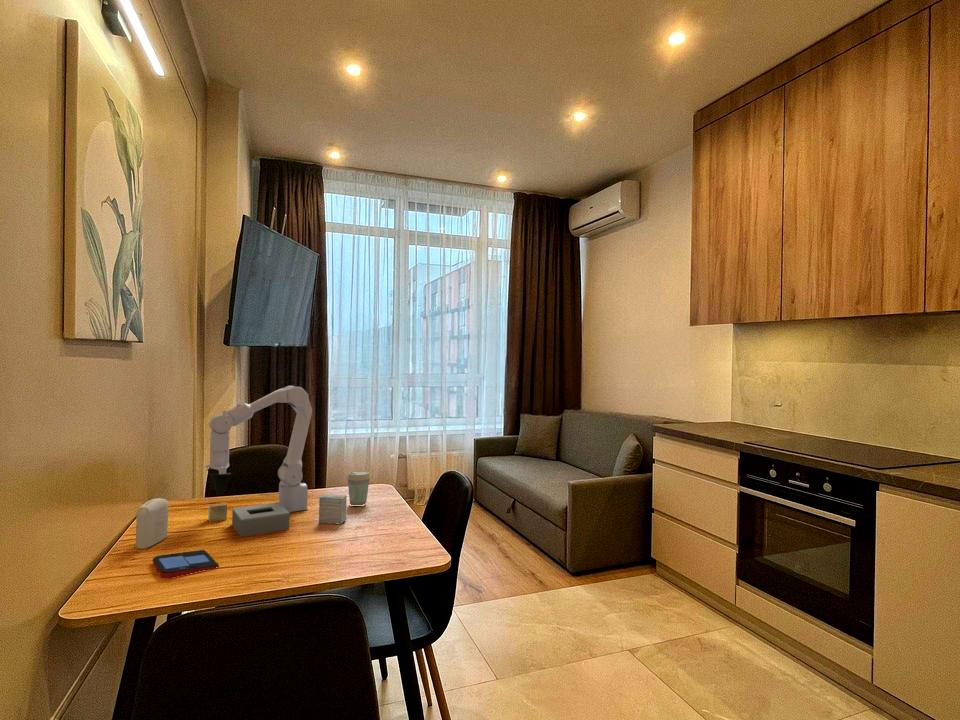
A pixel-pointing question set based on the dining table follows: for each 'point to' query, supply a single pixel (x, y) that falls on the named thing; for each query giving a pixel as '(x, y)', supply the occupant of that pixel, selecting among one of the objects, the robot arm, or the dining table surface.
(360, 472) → the coffee cup
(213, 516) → the wooden block
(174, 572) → the game console
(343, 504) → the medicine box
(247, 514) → the money box
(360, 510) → the dining table surface
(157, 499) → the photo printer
